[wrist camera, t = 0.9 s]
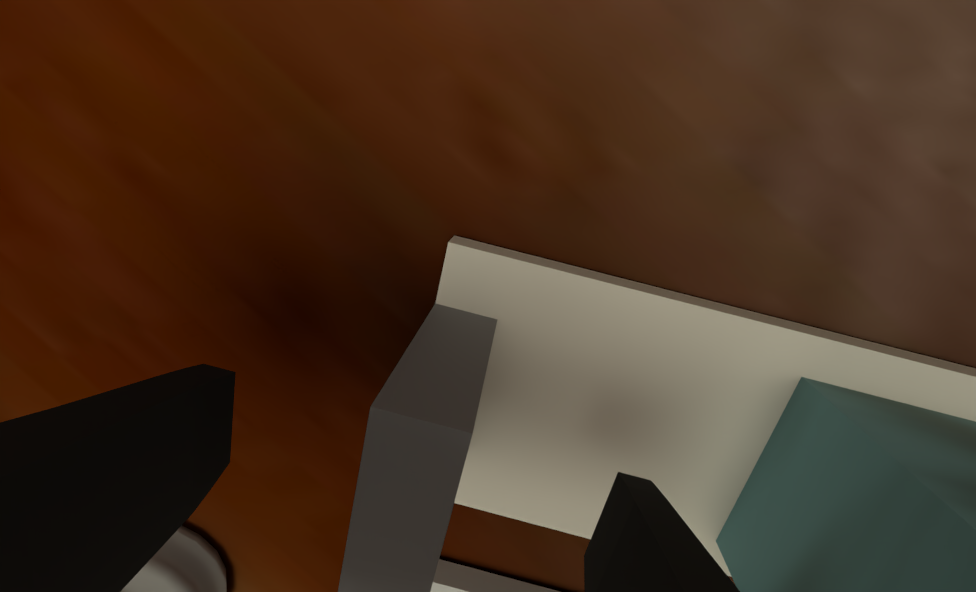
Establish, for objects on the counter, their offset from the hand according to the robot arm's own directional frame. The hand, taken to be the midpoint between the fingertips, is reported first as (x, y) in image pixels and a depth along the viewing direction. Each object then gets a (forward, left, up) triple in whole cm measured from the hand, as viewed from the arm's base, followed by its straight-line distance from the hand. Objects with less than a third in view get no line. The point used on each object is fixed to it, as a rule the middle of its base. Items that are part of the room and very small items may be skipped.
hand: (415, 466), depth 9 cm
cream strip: (-6, 0, -4) cm, 7 cm away
